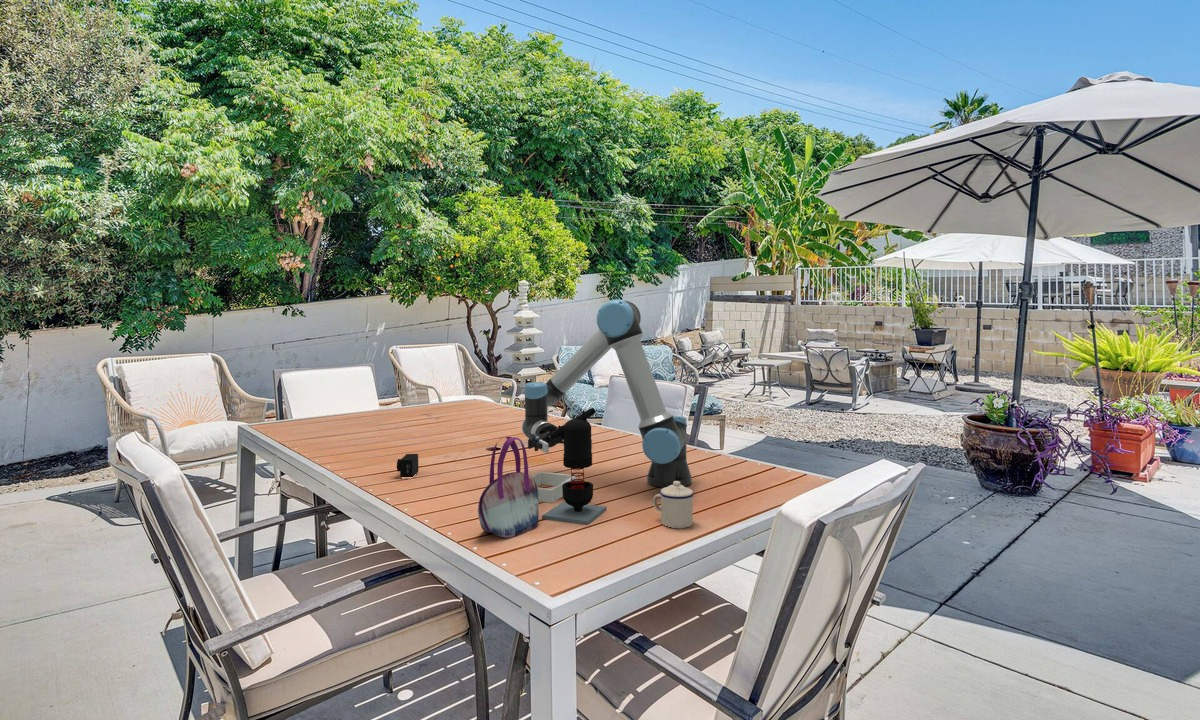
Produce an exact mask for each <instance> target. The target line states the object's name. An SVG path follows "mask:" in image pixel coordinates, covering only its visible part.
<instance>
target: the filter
mask: <svg viewBox="0 0 1200 720" xmlns="http://www.w3.org/2000/svg"><path fill="white" fill-rule="evenodd" d="M596 413H597V412H596V410H595V408H594V407H591V408H589V409H587V410H586V411H585V410H583V411H581V413H580V414H579V415H577V416H575V417H574V418H572V419H569V420H566V421H567V422H565V423H564V424H563V425H558V426H557V427H558V429H556V430H554V431H552V432H551V433H550V434H549V435H550V437H551V439H554V438H556V437H558V436H561V437H562V438H563V441H564V444H563V457H562V459H563V466H564V467H565V468H568V469H570V471H571V472H570V475H571V481H570V482H566V483H564V484H563V485H562V491H563V497H562V498H563V501H564V502H566V503H567V504H568V505H570V506H573V507H574V511H576V512H580V511H582V507H583V506H585V505H587V504H588V505H590V504H589V503H591V501H592V499H593V498H594V497H593V496H594V484H593V482H590V481H586V480H585V473H584V472H585V469H587V468H589V467H591V466H592V465H593V452H592V450H593V445H592V446H591V439H592V425H591V423H590V422H589V421H588V418H590V417H592V416H594V414H596ZM573 470H574V471H575V472H573ZM580 470H582V472H579V471H580ZM576 475H577V476H576ZM572 476H575V477H578V479H574V480H572ZM579 477H582V479H581V478H579ZM575 480H578V481H575Z"/></svg>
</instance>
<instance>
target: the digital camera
mask: <svg viewBox="0 0 1200 720" xmlns="http://www.w3.org/2000/svg"><path fill="white" fill-rule="evenodd" d="M419 469H420V468H419V453H406V454H405V455H404V456H403V457H402V458H398V459H397V461H396V470H397V472H400V473H399V476H400V477H413V476H414V475H415V474H416V473H417V472H418V471H419ZM418 473H419V472H418ZM418 473H417V474H418ZM417 474H416V475H417Z"/></svg>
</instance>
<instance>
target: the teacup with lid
mask: <svg viewBox="0 0 1200 720" xmlns="http://www.w3.org/2000/svg"><path fill="white" fill-rule="evenodd" d="M694 495H695V494H694V491H693V490H692V489H691V488H689V487H687V486H686V487H684V486H683V485H680V482H679V481H674V482H673V485H670V486H668V487H665V488H661V489H660V492H659V493H657V494H655V495H654V496H653V500H652V503H653V507H654V508H655V510H656V511H657V512H660V524H661V525H662V524H663V525H662V526H664V525H665V526H664V527H666V526H668V527H667V528H669V527H673V528H672V529H686V527H687V528H689V527H691V526H692V525H693V522H694V521H693V520H694V519H693V515H694V514H693V512H694V511H693V509H694V505H693V504H694V503H693V502H694V501H693V497H694ZM658 498H660V506H659V504H658Z"/></svg>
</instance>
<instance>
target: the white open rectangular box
mask: <svg viewBox="0 0 1200 720" xmlns="http://www.w3.org/2000/svg"><path fill="white" fill-rule="evenodd" d="M575 475H576V476H577V475H578V474H575ZM530 476H531V477H533V479H534V480H535V482H536V485H537V486H538V487H537V488H538V499H539V501H540V502H539V503H550V504H553V503H555V502H556V501H558V500H560V499H561V498H563V491H562V485H563V484H564V483H566V482H570V481H571V474H566V473H565V474H564V473H556V472H545V471H540V472H537V473H535V474H533V475H530ZM574 479H579V477H575V476H572V480H574ZM575 481H579V480H575ZM543 484H545V486H553V487H551V488H545V487H544V488H543V487H540V486H541V485H543Z"/></svg>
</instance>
